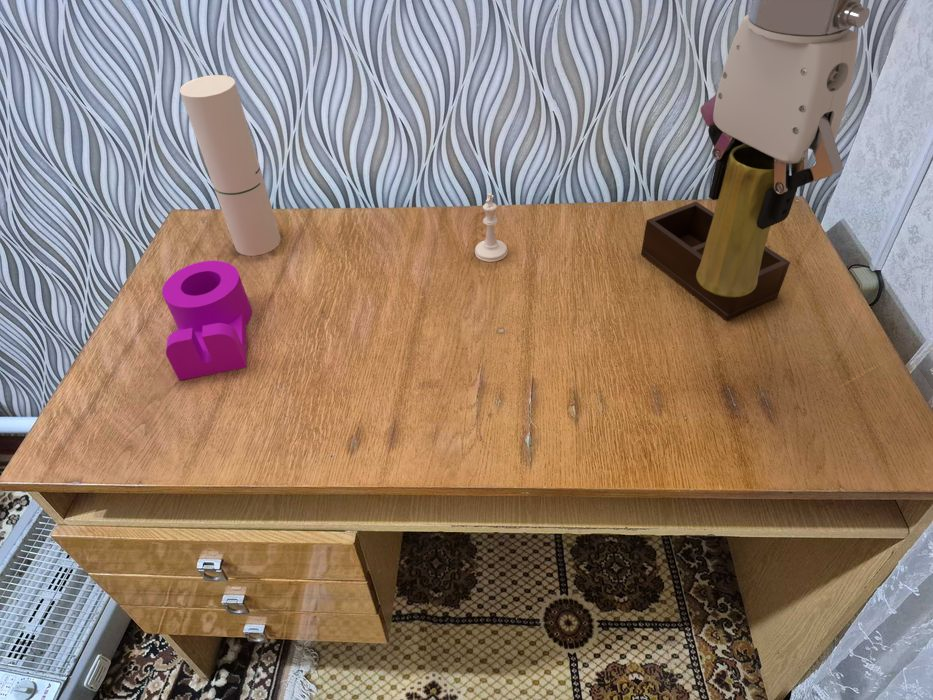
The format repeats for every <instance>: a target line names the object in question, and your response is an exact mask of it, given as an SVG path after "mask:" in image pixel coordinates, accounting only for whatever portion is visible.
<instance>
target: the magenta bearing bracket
mask: <svg viewBox="0 0 933 700" xmlns="http://www.w3.org/2000/svg"><path fill="white" fill-rule="evenodd" d="M161 295H162V297H163V299H164V301H165V304H166V305H167V308H168V310H169V311H170V314H171V316H172V318H173V320H174V322H175V325H176V326H177V330H176V331H173V332H171V333H170V334H169V335H168V337H167V341H166V349H165V356H166V358H167V360H168V362H169V364H170V366H171V368H172V369H173V372H174V373H175V376H176V378H177V380H178V381H185V380H190V379H195V378H200V377H204V376H210V375H214V374H215V375H216V374H220V373H224V372H230V371H234V370H240V369H245V368H247V325H248V324H249V322H250V320H251V318H252V314H253V310H252V306H251V303H250V301H249V298H248V295H247V293H246V290H245V286H244V285H243V281H242V279H241V276H240V273H239V271H238V269H237V267H236V266H234V265H233V264H231V263H229V262H226V261H222V260H204V261H199V262H195V263H192V264H189V265H186V266H185V267H182V268H181V269H179V270H176V272H174V273H173V274H171V275H170V276H169V278H167V280H166V281H165V283H164V285H163V286H162V289H161Z"/></svg>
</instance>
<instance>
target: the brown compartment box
mask: <svg viewBox="0 0 933 700" xmlns="http://www.w3.org/2000/svg"><path fill="white" fill-rule="evenodd" d="M713 216H714V211H712V210H710V209H709V208H707V207H706V206H705V205H703V204H701V203H700V202H698V201H693V202H691V203H688V204H685V205H683V206H680V207H677V208H675V209H672V210H669V211H667V212H664V213H662V214H659V215H656V216H654V217H651V218H649V219H646V223H645V228H644V233H643V234H644V235H643V240H642V245H641V252H640V255H641V256H642V257H644V258H645V260H647V261H649V262H650V263H651V264H652V265H654V266H655V267H656V268H658V269H659V270H660V271H661V272H663V273H664V274H665V275H667V276H668V277H669V278H671V280H673V281H674V282H676V283H677V284H678V285H679V286H680V287H682V289H685V290H686V291H687V292H689V293H690V294H691V295H692V296H693V297H695V298H696V299H697V300H699V301H700V302H701V303H702V304H704V305H705V306H706V307H708V308H709V309H710V310H712V311H713V312H714V313H715V314H716V315H718V316H719V317H721V318H722V319H723V320H724V321H725V322H728V321H731V320H732V319H735V318H737V317H739V316H741V315H743V314H745V313H747V312H750V311H752V310H754V309H756V308H759V307H760V306H762V305H763V306H764V305H765V304H767V303H769V302H771V301H774V300H776V299H778V297H779V294H780V292H781V289H782V286H783V284H784V281H785V278H786V275H787V274H788V273H787V272H788V270H789V267H790V264H791V262H790V261H789V260H788V259H786V258H785V257H783V256H782V255H780V254H778V253H777V252H775V251H774V250H772V249H770V248H769V247H768V246H766V245H765V248H764V252H763V256H762V260H761V265H760V270H759V275H758V282H757V286H756V288H755V289H754V290H753V291H752V292H751V293H749V294H747V295H745V296H741V297H723V296H718V295H715V294H713V293H711V292H709V291H707V290H706V289H704V288H703V287H702V286H701V285H700V284H699V282H698V281H697V278H696V273H697V270H698V268H699V266H700V263H701V260H702V256H703V252H704V248H705V244H706V241H707V237H708V234H709V230H710V227H711V224H712V220H713Z"/></svg>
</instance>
